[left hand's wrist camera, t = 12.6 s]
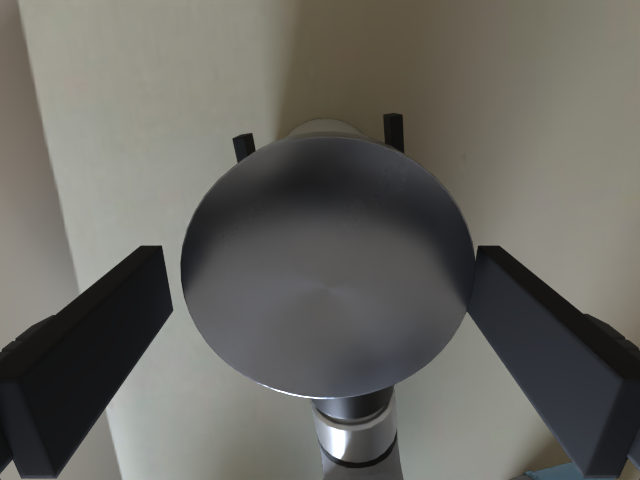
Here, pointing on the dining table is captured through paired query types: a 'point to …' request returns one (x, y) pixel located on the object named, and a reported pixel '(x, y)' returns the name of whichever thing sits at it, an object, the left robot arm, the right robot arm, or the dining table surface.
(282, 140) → the lid
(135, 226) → the dining table surface
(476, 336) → the dining table surface
